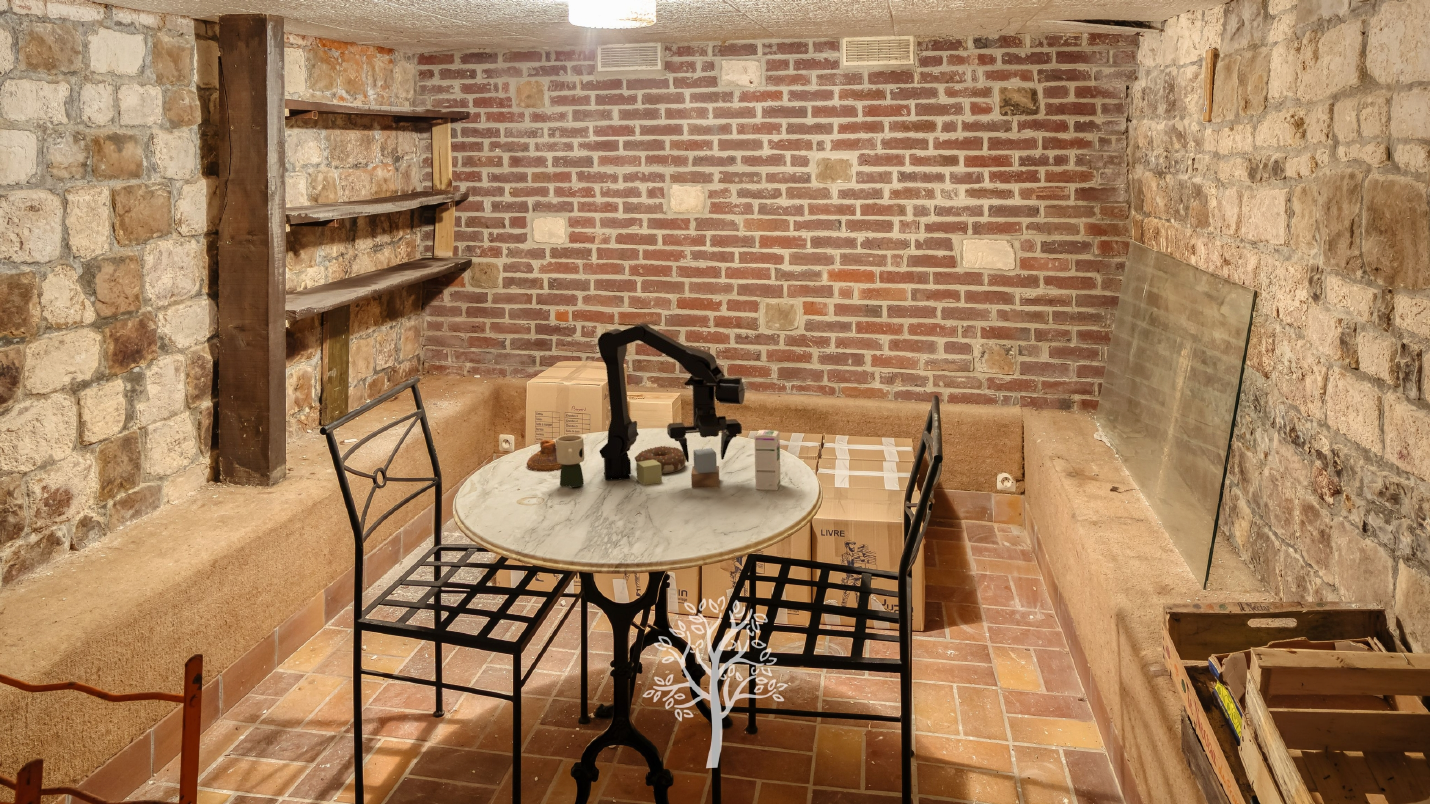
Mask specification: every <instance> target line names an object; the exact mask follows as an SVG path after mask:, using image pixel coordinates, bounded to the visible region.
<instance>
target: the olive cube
mask: <svg viewBox="0 0 1430 804" xmlns="http://www.w3.org/2000/svg"><path fill="white" fill-rule="evenodd" d="M635 462H636V461H635ZM635 464H636V480H637V482H639V483H641V484H642V485H645V486H646V485H651V484H652V485H653V484H657V483H662V482H663V478H662V475H663V473H662V472H661V464H660V463H659V462H657V461H655V460H647V461H641V462H636V463H635Z"/></svg>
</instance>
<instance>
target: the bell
mask: <svg viewBox="0 0 1430 804" xmlns="http://www.w3.org/2000/svg"><path fill="white" fill-rule="evenodd" d="M539 445H540V450H538V451H537V452H536V453H533V455H531V456H530V457H529V458H528V460H527V462H526V468H527V467H528V468H527V469H529V468H530V469H532V470H531V471H534V470H537V471H536V472H555V471H554V470H557V471H561V466H562V464H560V463H558V462H557V455H556V440H554V439H553V440H551V439H544V440H541V441H540V443H539ZM530 469H529V470H530Z"/></svg>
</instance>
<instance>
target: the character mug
mask: <svg viewBox="0 0 1430 804" xmlns="http://www.w3.org/2000/svg"><path fill="white" fill-rule="evenodd" d="M555 443H556V455H557V462H558V463H560V464H562V466H561V469H560V474H559V477H560V478H559V479H560V480H559V486H561V487H570V488H576V487H581V486H583V485H584V484H585V482H584V476H583V474H584V473H583V469H582V465H581V463H583V462H584V461H585V446H584V436H582V435H579V434H565V435H561V436H557V437H556V438H555Z"/></svg>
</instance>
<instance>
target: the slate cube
mask: <svg viewBox="0 0 1430 804" xmlns="http://www.w3.org/2000/svg"><path fill="white" fill-rule="evenodd" d="M693 466H694V469H695V470H696V472H697V473H710V472H717V466H718V465H717V452H716V451H715V450H714V449H713V448H712V447H711V448H710V447H709V448H699V449H693Z"/></svg>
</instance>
